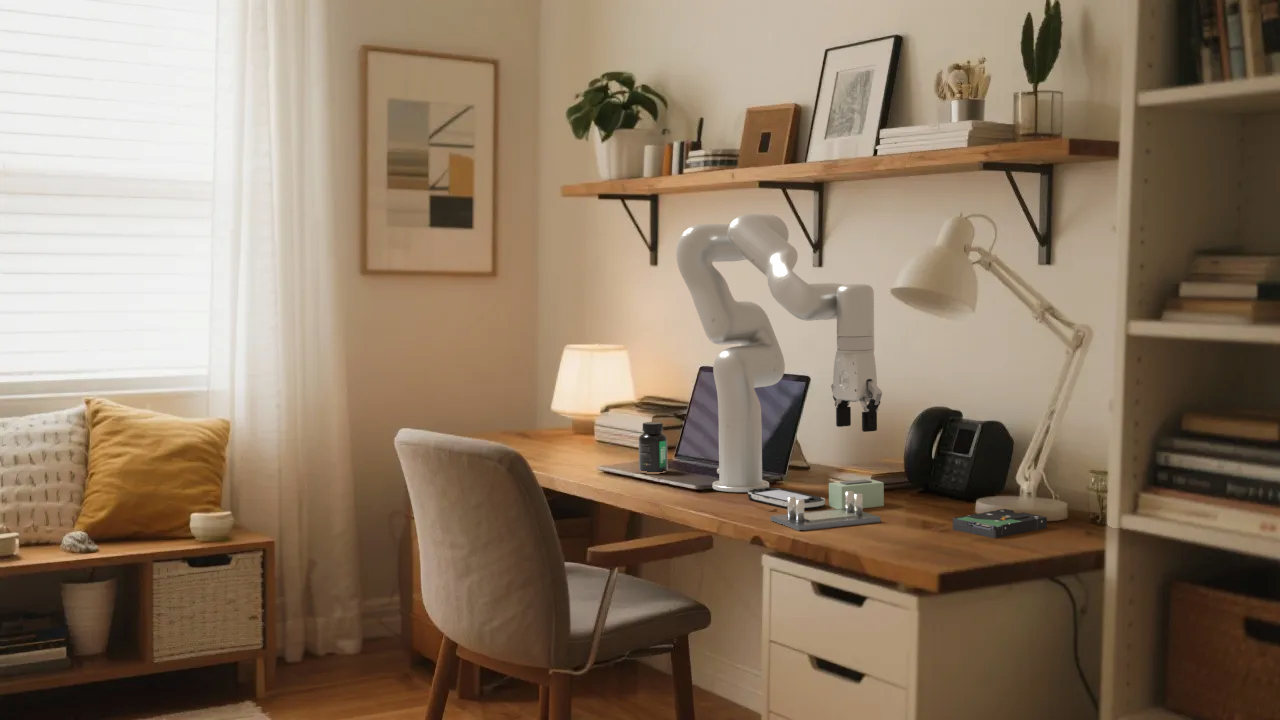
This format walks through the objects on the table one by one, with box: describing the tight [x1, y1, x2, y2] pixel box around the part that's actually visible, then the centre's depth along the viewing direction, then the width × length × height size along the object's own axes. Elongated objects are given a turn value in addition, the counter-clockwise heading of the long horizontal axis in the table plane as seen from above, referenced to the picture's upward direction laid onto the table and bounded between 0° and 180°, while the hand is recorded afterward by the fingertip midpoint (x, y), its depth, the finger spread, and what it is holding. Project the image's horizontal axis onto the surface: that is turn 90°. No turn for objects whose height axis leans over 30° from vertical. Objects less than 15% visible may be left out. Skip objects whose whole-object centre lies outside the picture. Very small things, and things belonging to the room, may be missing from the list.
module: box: [828, 478, 885, 509], centre depth 274 cm, size 5×10×5 cm, turn 113°
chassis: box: [770, 491, 882, 532], centre depth 259 cm, size 11×18×5 cm, turn 113°
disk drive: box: [952, 508, 1048, 539], centre depth 249 cm, size 10×3×15 cm
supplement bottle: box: [638, 421, 669, 472], centre depth 321 cm, size 7×7×12 cm
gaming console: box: [747, 486, 826, 511], centre depth 279 cm, size 19×9×2 cm, turn 32°
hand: (856, 428), depth 273 cm, fingers open, 9 cm apart
